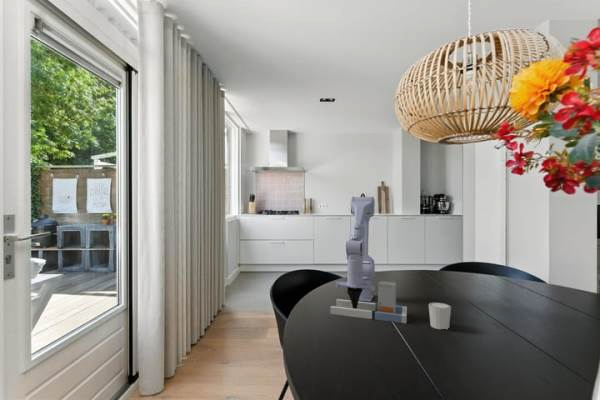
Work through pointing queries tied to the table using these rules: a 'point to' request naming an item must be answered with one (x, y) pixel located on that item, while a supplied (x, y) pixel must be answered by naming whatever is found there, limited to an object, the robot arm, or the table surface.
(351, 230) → the robot arm
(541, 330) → the table surface
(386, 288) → the skincare box
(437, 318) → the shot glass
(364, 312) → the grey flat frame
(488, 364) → the table surface
